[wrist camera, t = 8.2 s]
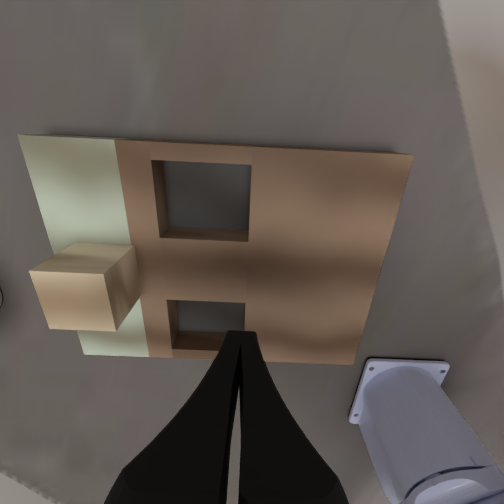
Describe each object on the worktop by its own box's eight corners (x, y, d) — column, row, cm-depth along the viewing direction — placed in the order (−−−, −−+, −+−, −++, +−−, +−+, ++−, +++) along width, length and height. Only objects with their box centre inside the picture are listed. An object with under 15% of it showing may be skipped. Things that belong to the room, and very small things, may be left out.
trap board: (343, 343, 25) (353, 364, 22) (100, 333, 24) (84, 354, 22) (393, 152, 17) (414, 155, 15) (49, 134, 17) (17, 134, 15)
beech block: (141, 294, 19) (116, 331, 16) (88, 291, 19) (49, 328, 16) (134, 244, 18) (103, 274, 14) (75, 242, 18) (28, 270, 14)
